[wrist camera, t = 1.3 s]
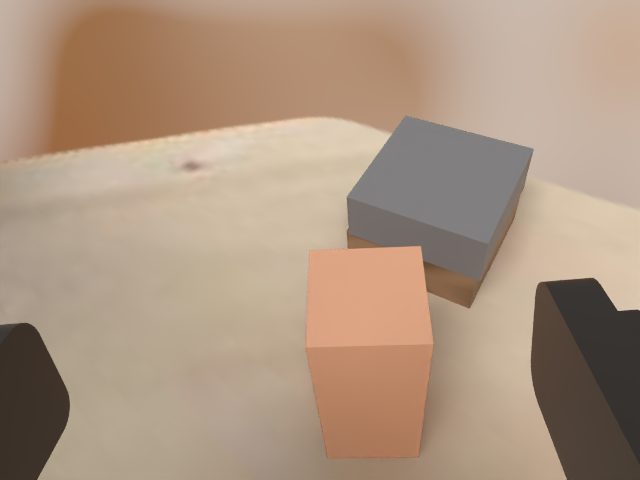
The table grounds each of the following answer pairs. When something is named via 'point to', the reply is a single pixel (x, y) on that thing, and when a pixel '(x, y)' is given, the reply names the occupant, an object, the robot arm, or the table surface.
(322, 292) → the pillar
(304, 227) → the table surface
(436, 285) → the slab bottom
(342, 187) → the table surface
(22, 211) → the table surface
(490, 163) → the slab top
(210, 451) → the table surface
